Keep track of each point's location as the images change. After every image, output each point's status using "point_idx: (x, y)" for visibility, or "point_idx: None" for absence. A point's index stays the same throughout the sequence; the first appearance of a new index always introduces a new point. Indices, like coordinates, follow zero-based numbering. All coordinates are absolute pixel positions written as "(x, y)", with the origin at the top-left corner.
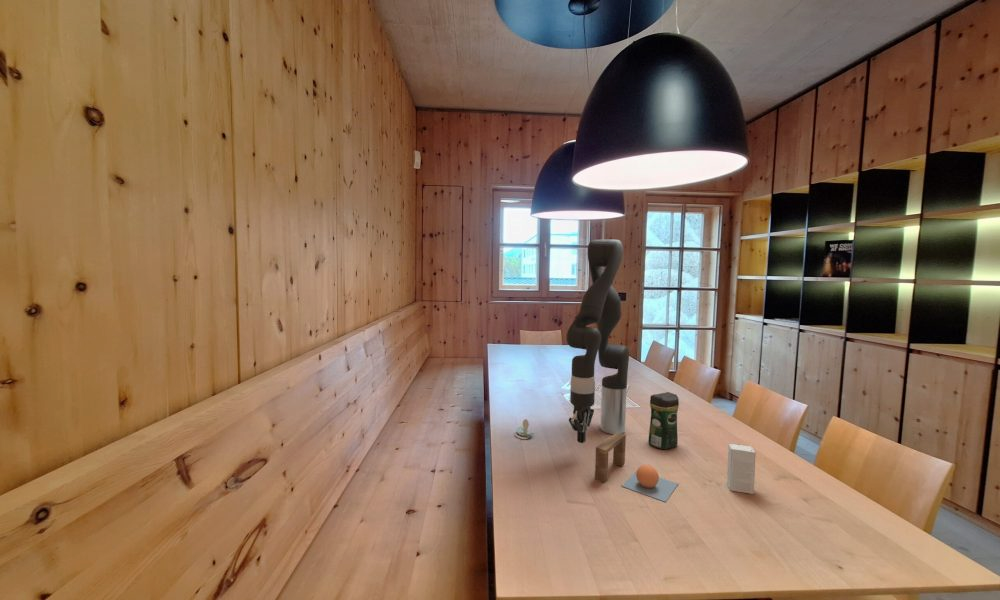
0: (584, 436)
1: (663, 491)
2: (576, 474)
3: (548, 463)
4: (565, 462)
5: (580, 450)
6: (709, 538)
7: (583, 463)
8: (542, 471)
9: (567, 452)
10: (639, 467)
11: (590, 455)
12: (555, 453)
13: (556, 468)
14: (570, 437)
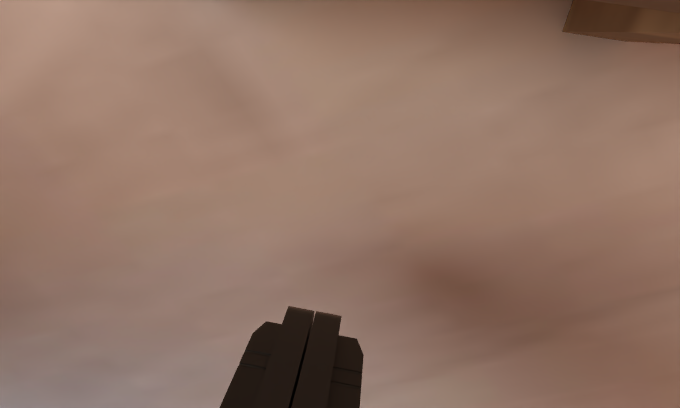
0: (300, 364)
1: None
2: (579, 201)
3: (488, 384)
4: (421, 307)
5: (191, 269)
6: None
7: (370, 203)
8: (618, 389)
9: None
10: None
11: (215, 192)
12: None
13: (539, 333)
14: (73, 356)
